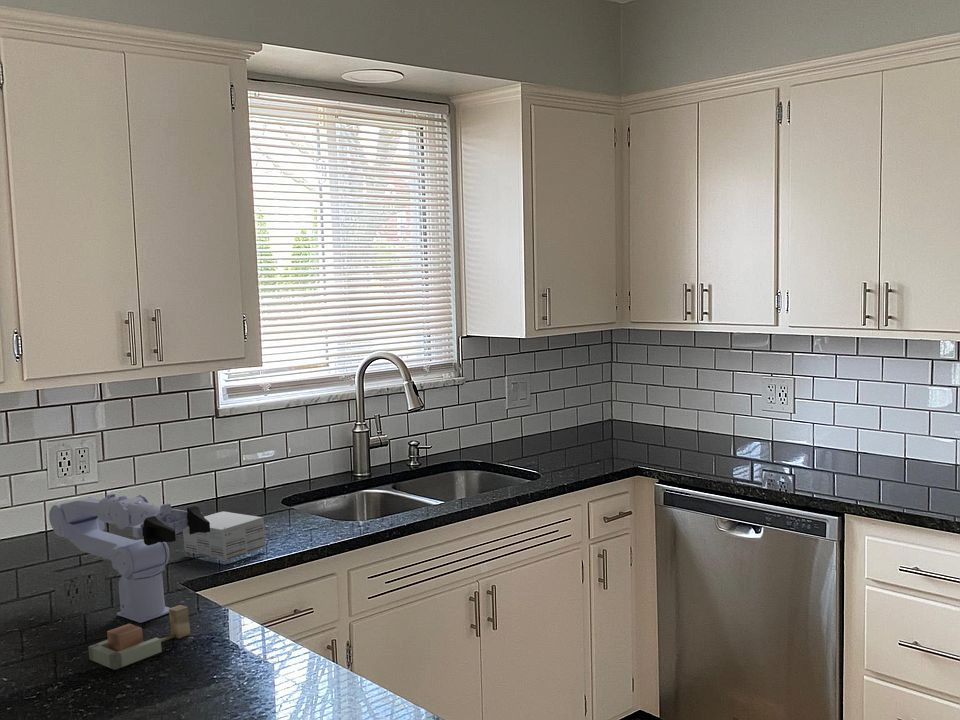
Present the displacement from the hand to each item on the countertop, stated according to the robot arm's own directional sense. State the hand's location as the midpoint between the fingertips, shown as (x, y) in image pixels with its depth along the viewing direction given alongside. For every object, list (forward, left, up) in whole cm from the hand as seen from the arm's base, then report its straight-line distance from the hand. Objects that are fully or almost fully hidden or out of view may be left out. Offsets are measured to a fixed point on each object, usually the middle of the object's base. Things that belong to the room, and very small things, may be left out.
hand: (191, 531), depth 183 cm
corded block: (-3, -9, -21) cm, 22 cm away
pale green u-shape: (-3, -15, -21) cm, 25 cm away
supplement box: (-43, +36, -21) cm, 60 cm away
